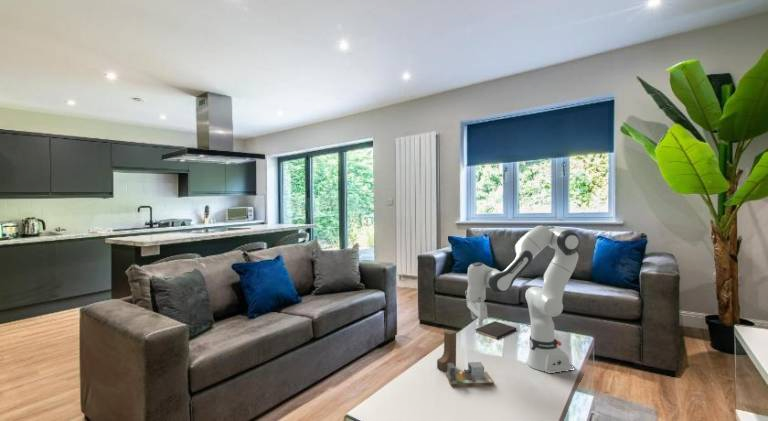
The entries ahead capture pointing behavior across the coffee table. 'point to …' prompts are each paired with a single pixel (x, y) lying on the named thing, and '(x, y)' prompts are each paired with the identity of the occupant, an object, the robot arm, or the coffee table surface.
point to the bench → (466, 378)
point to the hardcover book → (495, 330)
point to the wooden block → (448, 351)
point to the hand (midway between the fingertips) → (476, 322)
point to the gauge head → (475, 371)
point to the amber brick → (460, 376)
